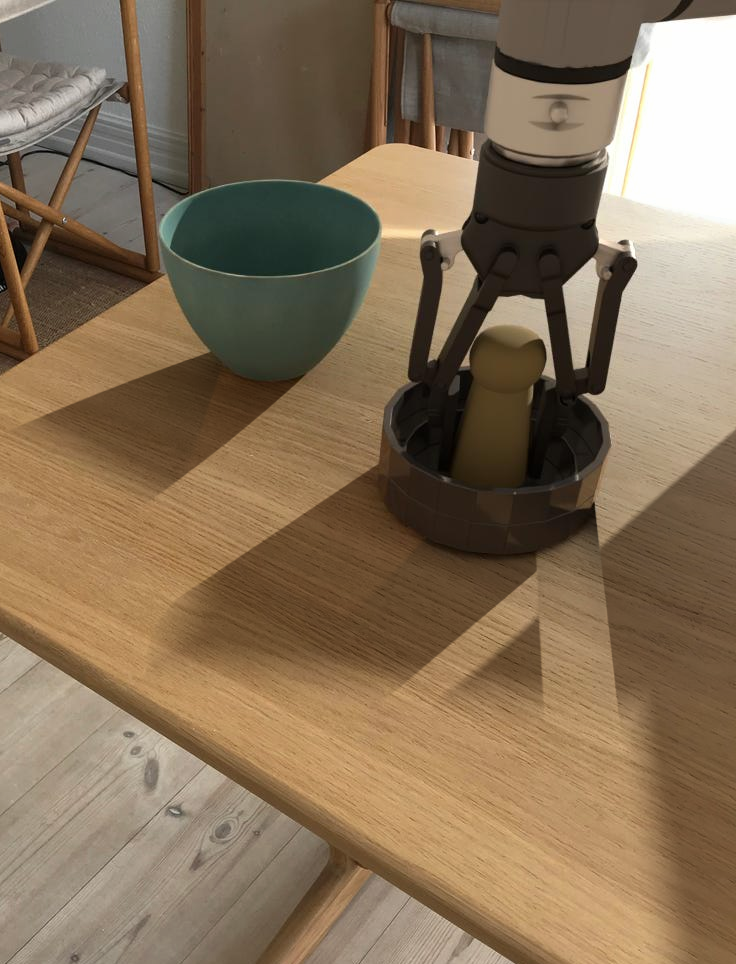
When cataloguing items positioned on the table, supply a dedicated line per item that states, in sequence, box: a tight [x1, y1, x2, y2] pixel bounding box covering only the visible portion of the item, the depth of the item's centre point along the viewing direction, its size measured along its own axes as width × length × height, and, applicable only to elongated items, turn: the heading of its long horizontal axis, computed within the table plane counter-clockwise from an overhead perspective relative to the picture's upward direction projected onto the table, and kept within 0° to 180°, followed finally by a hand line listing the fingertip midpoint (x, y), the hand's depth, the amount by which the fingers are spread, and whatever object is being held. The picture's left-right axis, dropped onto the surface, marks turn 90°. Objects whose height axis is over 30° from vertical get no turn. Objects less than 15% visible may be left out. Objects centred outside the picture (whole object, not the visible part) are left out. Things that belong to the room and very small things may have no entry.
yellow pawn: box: [448, 324, 548, 489], centre depth 74 cm, size 6×6×11 cm
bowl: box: [376, 365, 613, 556], centre depth 77 cm, size 16×16×6 cm
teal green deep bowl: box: [158, 179, 383, 383], centre depth 89 cm, size 18×18×12 cm
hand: (488, 464), depth 78 cm, fingers closed on yellow pawn, 6 cm apart
